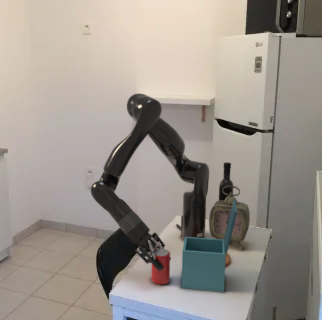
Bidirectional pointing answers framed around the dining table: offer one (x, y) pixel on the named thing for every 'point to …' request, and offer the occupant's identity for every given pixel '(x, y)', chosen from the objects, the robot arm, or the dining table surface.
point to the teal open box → (203, 264)
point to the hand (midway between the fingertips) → (165, 264)
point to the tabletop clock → (221, 217)
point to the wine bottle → (225, 182)
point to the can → (164, 274)
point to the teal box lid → (230, 226)
